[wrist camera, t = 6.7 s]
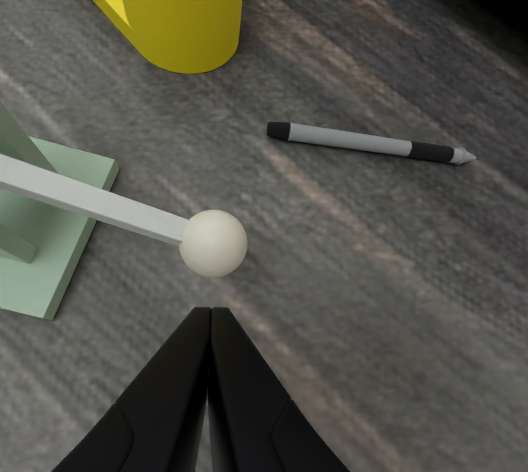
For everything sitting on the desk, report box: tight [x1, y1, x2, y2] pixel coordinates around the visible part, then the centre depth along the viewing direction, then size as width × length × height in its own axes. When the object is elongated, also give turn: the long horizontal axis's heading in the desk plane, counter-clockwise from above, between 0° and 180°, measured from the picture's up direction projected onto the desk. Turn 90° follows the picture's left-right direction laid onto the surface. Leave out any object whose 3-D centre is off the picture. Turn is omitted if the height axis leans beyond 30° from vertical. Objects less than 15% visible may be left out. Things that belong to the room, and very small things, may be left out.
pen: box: [267, 122, 476, 165], centre depth 26 cm, size 1×16×1 cm, turn 86°
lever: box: [0, 154, 247, 277], centre depth 15 cm, size 15×3×3 cm, turn 77°
